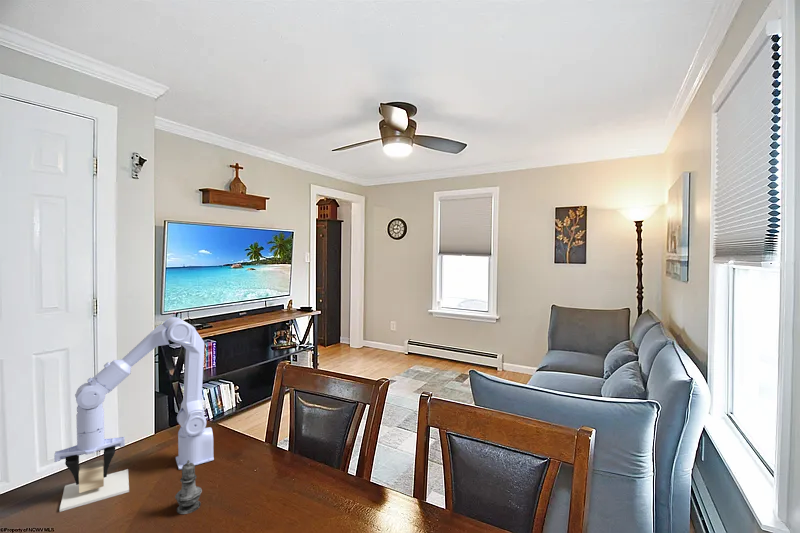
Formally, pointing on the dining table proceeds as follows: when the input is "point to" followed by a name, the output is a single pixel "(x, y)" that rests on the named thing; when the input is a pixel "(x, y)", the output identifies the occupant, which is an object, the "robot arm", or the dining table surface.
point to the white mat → (95, 491)
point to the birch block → (91, 476)
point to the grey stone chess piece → (188, 491)
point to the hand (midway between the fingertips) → (91, 479)
